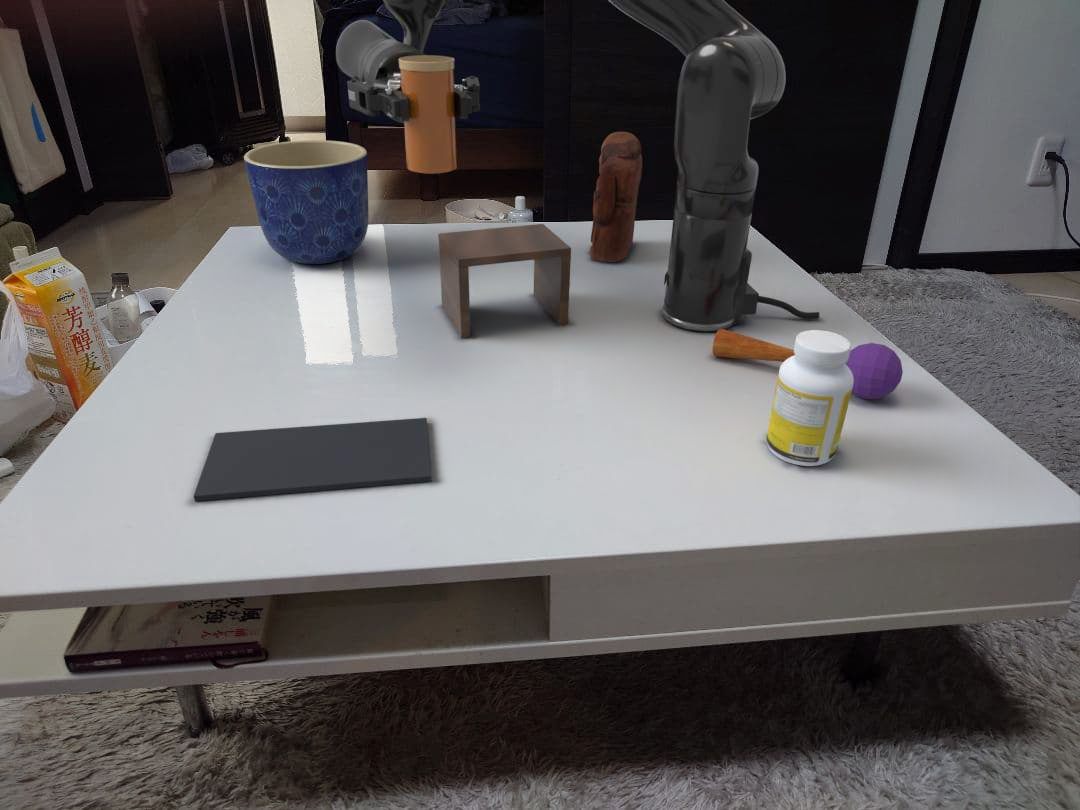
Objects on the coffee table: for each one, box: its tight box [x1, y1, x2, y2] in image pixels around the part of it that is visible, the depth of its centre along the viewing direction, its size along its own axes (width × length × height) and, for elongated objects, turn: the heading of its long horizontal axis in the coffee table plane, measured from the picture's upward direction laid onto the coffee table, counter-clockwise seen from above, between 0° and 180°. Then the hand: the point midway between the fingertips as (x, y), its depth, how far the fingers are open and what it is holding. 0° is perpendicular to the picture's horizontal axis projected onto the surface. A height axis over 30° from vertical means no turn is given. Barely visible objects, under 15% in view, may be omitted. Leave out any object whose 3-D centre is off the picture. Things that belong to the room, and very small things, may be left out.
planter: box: [243, 139, 370, 265], centre depth 114 cm, size 17×17×15 cm
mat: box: [193, 417, 433, 502], centre depth 71 cm, size 20×10×1 cm, turn 100°
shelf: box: [438, 223, 572, 339], centre depth 97 cm, size 14×10×10 cm
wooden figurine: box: [589, 131, 643, 263], centre depth 117 cm, size 12×6×18 cm, turn 165°
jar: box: [399, 54, 458, 174], centre depth 75 cm, size 5×5×10 cm
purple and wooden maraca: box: [712, 329, 904, 400], centre depth 85 cm, size 6×6×20 cm
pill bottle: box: [765, 329, 854, 467], centre depth 71 cm, size 6×6×12 cm
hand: (435, 108), depth 72 cm, fingers closed on jar, 5 cm apart
